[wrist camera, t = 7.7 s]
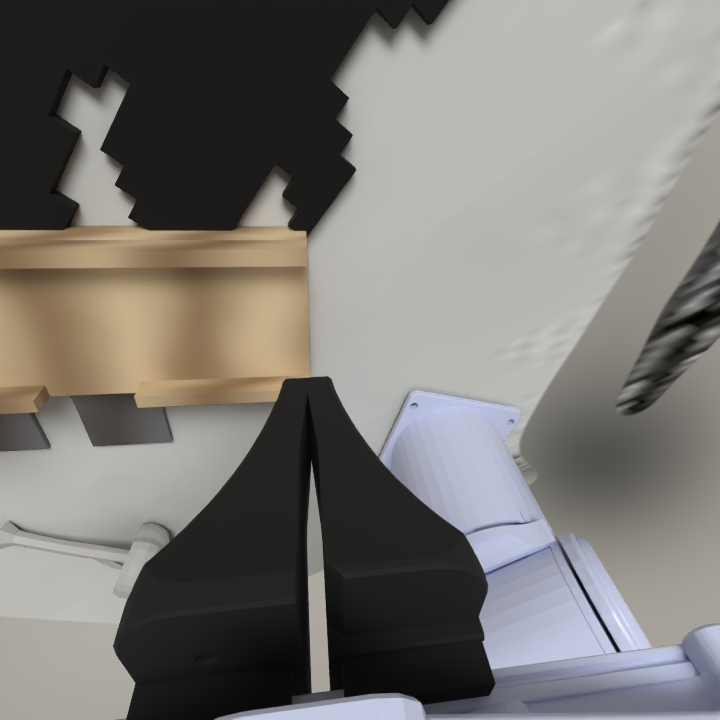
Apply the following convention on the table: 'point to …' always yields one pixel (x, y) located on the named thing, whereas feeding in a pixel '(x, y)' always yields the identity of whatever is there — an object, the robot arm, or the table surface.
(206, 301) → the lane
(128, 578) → the mushroom
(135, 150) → the black pixelated cutout
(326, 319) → the table surface
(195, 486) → the table surface
